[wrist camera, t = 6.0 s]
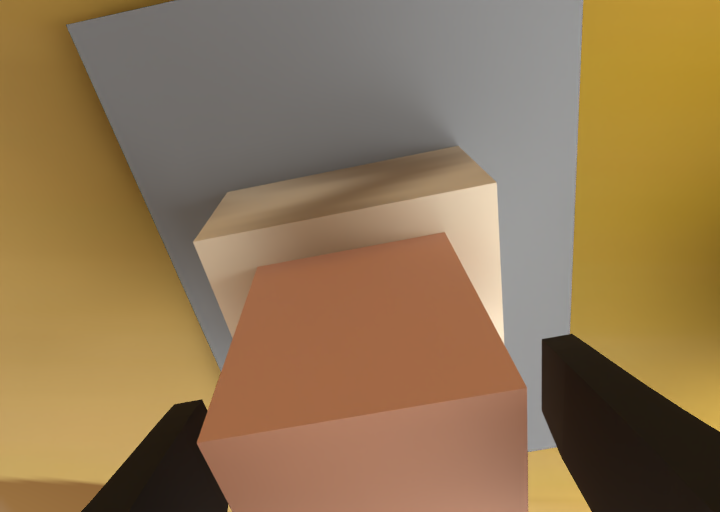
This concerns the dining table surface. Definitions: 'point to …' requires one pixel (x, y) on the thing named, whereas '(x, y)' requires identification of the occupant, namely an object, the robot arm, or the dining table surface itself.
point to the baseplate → (354, 123)
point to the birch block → (356, 222)
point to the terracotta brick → (368, 390)
